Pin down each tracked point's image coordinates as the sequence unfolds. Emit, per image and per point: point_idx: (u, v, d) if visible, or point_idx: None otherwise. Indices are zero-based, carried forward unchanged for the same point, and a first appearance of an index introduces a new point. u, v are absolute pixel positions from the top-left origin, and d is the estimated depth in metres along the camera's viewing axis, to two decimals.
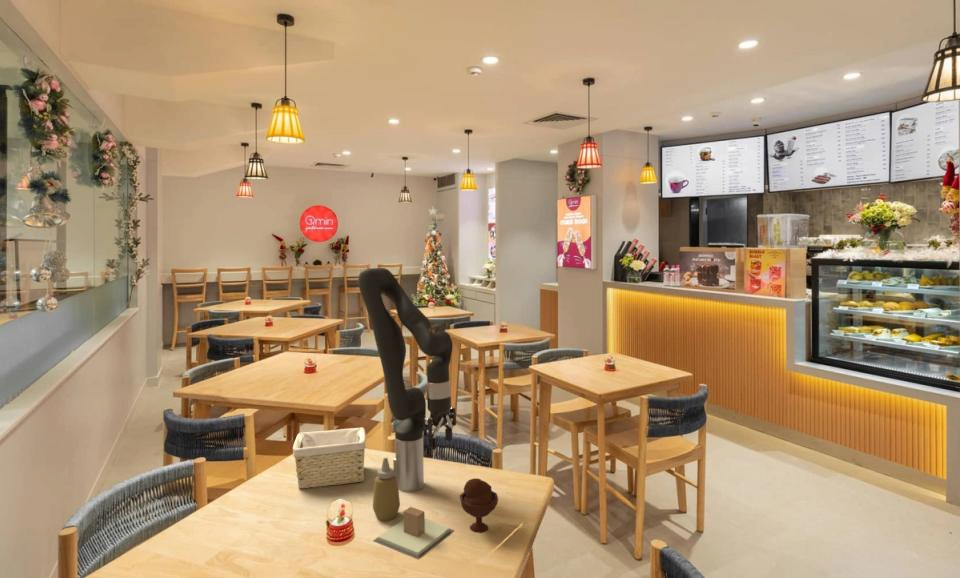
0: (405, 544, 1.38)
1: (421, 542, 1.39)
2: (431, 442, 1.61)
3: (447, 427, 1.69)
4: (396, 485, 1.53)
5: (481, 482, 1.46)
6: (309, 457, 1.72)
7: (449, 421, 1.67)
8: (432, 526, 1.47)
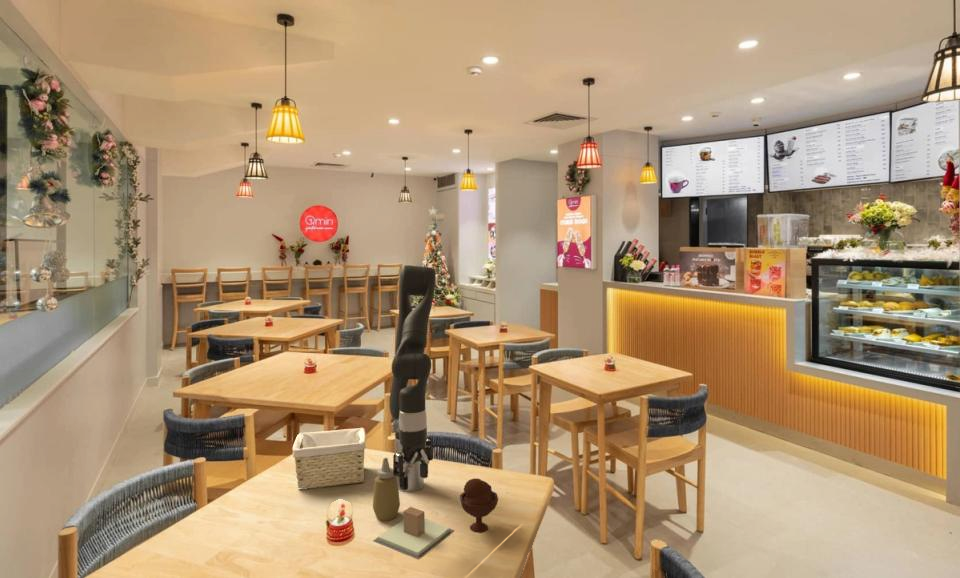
0: (405, 544, 1.38)
1: (421, 542, 1.39)
2: (402, 482, 1.38)
3: (422, 462, 1.46)
4: (396, 485, 1.53)
5: (481, 482, 1.46)
6: (309, 458, 1.72)
7: (424, 456, 1.44)
8: (432, 526, 1.47)
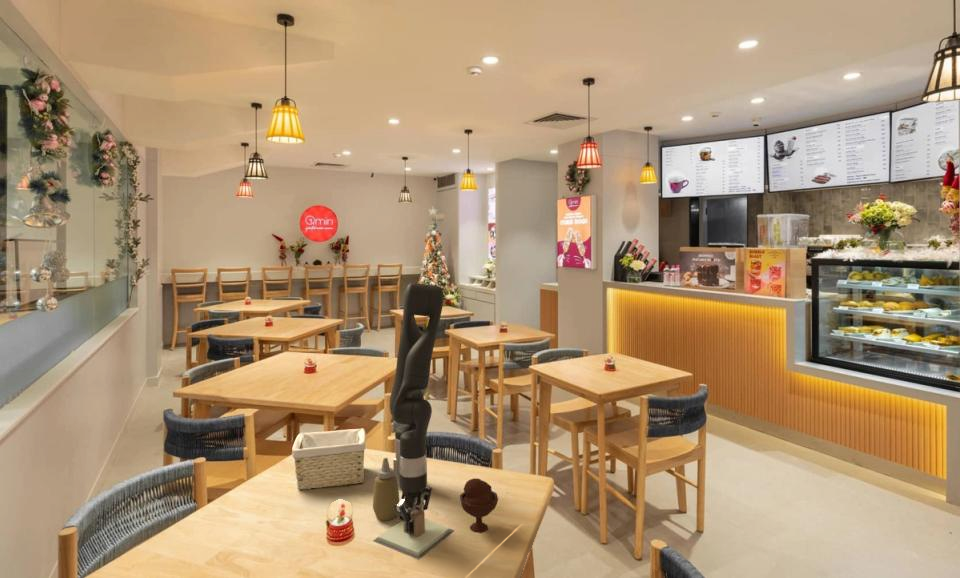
0: (405, 544, 1.38)
1: (421, 542, 1.39)
2: (408, 526, 1.41)
3: None
4: (396, 485, 1.53)
5: (481, 482, 1.46)
6: (308, 458, 1.72)
7: (422, 502, 1.44)
8: (432, 526, 1.47)
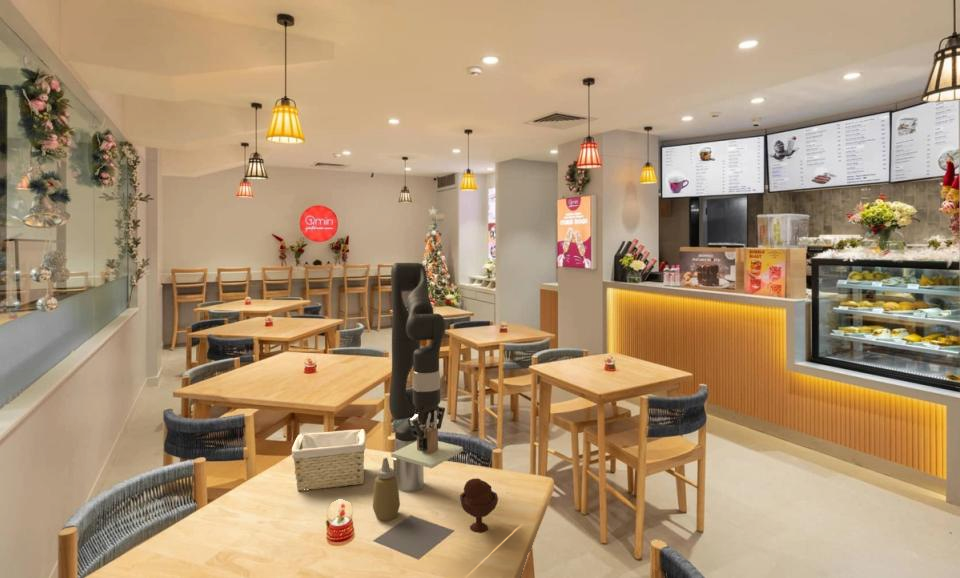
0: (418, 459, 1.37)
1: (435, 457, 1.38)
2: (421, 442, 1.40)
3: None
4: (396, 485, 1.53)
5: (481, 482, 1.46)
6: (308, 459, 1.71)
7: (435, 420, 1.43)
8: (445, 446, 1.46)
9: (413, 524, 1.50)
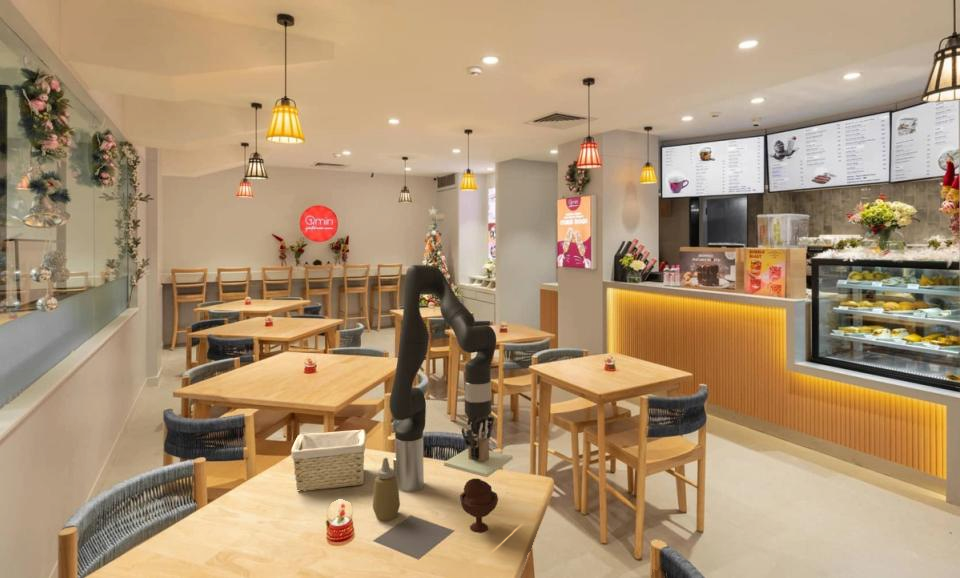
0: (472, 468, 1.40)
1: (488, 466, 1.41)
2: (474, 452, 1.44)
3: None
4: (396, 485, 1.53)
5: (481, 482, 1.46)
6: (307, 459, 1.71)
7: (486, 430, 1.46)
8: (495, 454, 1.49)
9: (413, 524, 1.50)
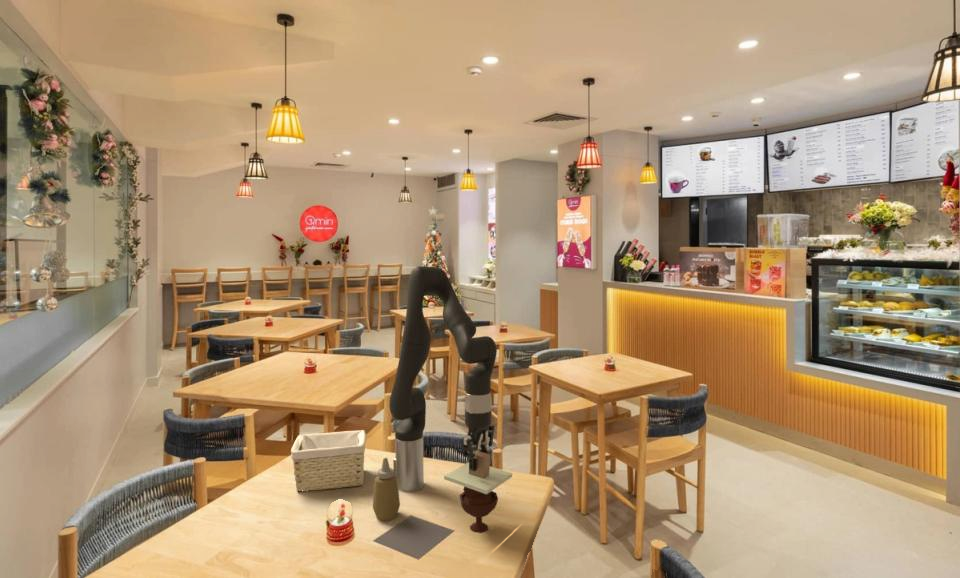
0: (472, 483, 1.41)
1: (488, 483, 1.42)
2: (472, 463, 1.43)
3: (482, 448, 1.49)
4: (396, 485, 1.53)
5: None
6: (307, 460, 1.70)
7: (487, 439, 1.47)
8: (495, 471, 1.50)
9: (413, 524, 1.50)
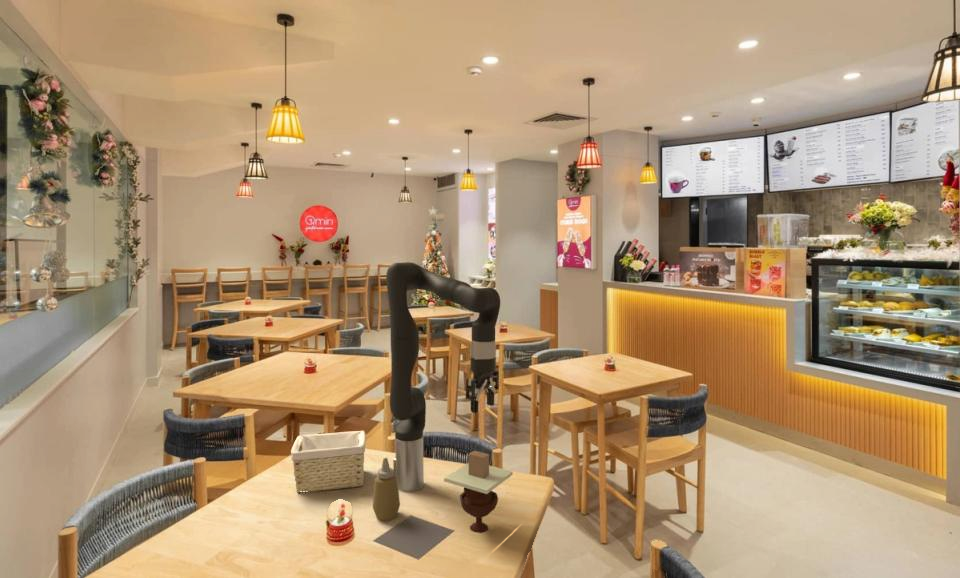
0: (472, 484, 1.41)
1: (488, 482, 1.42)
2: (473, 405, 1.50)
3: (489, 391, 1.58)
4: (396, 485, 1.53)
5: None
6: (307, 461, 1.70)
7: (492, 384, 1.56)
8: (495, 470, 1.50)
9: (413, 524, 1.50)
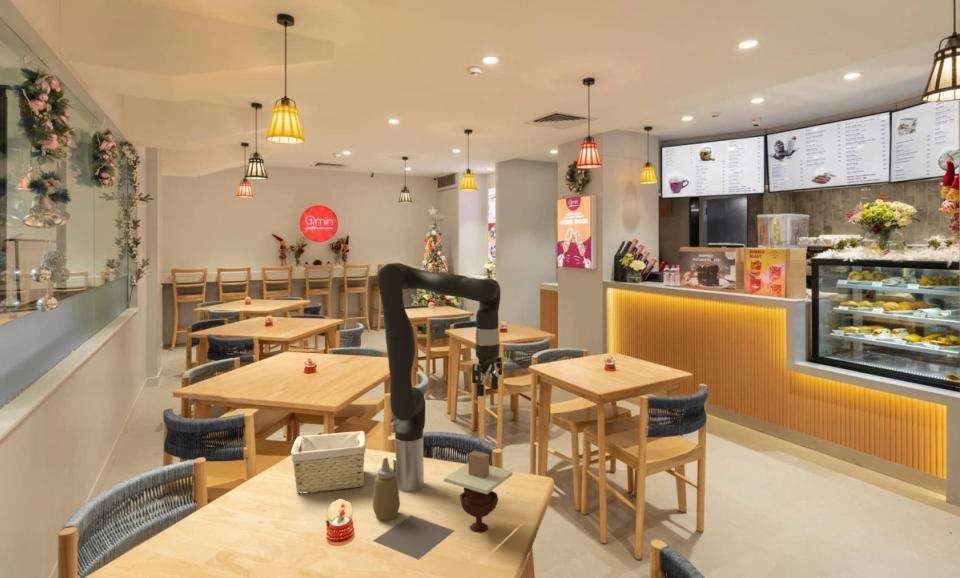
0: (472, 484, 1.41)
1: (488, 482, 1.42)
2: (479, 388, 1.60)
3: (493, 376, 1.68)
4: (396, 485, 1.53)
5: None
6: (308, 461, 1.69)
7: (496, 369, 1.66)
8: (495, 470, 1.50)
9: (413, 524, 1.50)
